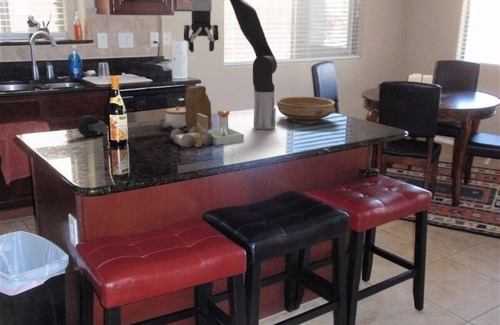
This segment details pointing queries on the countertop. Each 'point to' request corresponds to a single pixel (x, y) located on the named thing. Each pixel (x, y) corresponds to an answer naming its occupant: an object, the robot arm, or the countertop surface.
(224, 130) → the copper topped glass grinder
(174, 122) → the lidded jar
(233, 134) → the tray
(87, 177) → the countertop surface
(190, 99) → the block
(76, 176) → the countertop surface
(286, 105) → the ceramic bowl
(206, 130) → the trolley
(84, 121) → the caster wheel
